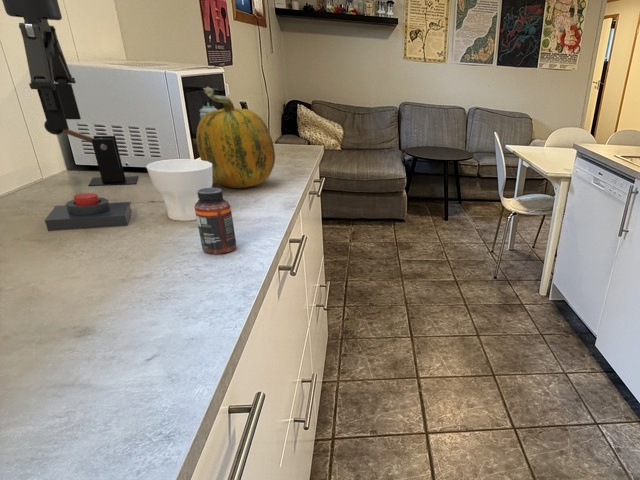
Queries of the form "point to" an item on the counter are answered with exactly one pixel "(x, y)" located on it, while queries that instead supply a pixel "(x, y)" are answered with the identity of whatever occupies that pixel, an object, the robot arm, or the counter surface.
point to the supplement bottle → (214, 221)
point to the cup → (180, 184)
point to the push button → (86, 199)
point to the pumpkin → (235, 144)
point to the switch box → (88, 215)
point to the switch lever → (70, 132)
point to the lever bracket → (109, 163)
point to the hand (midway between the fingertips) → (66, 124)
